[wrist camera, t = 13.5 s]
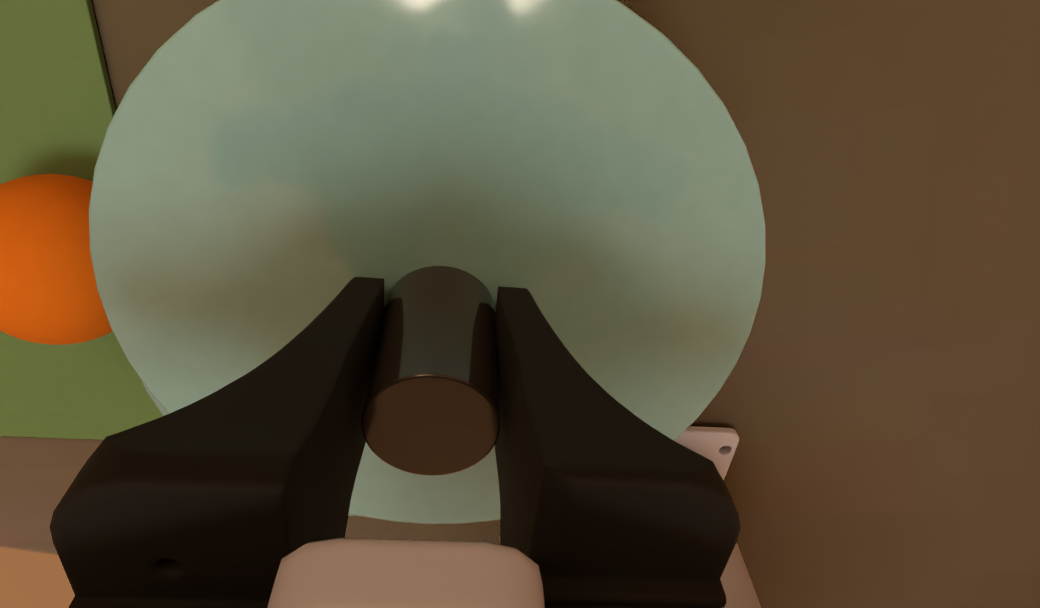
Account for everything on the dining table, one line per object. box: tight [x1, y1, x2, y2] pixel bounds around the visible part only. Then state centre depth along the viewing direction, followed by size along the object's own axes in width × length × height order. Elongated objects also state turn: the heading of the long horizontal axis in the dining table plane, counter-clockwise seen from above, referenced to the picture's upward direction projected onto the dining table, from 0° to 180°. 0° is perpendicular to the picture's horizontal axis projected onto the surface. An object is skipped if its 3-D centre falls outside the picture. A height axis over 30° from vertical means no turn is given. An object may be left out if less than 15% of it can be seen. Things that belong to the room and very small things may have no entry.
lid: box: [89, 0, 766, 524], centre depth 14 cm, size 14×14×5 cm
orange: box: [0, 174, 113, 345], centre depth 20 cm, size 5×5×5 cm
